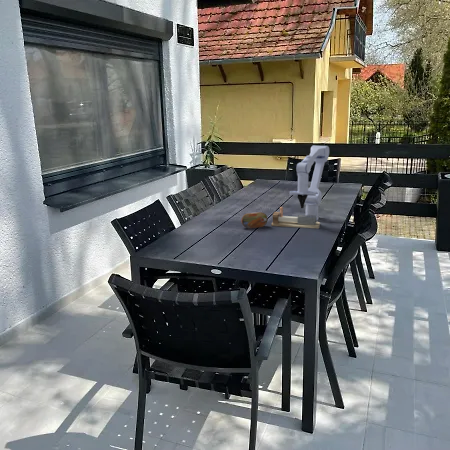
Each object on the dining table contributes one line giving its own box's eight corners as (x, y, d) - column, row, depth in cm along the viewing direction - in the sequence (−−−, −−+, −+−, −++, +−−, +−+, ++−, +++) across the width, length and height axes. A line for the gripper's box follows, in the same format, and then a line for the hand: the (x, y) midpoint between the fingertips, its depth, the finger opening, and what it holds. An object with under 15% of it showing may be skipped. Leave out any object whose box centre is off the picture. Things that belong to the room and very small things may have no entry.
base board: (273, 221, 272) (273, 219, 272) (319, 223, 266) (319, 222, 266) (271, 225, 263) (271, 224, 263) (318, 228, 256) (318, 226, 256)
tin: (242, 229, 258) (242, 214, 256) (240, 227, 261) (240, 213, 259) (267, 226, 262) (267, 212, 260) (265, 225, 265) (266, 211, 263)
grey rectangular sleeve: (298, 222, 266) (298, 214, 265) (316, 223, 264) (316, 215, 263) (297, 224, 261) (297, 216, 260) (315, 225, 259) (315, 217, 258)
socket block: (274, 220, 271) (274, 211, 269) (279, 220, 270) (279, 212, 268) (272, 223, 264) (272, 214, 263) (277, 223, 263) (277, 215, 262)
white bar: (276, 219, 268) (276, 206, 266) (304, 221, 264) (304, 207, 262) (275, 221, 265) (275, 207, 263) (303, 222, 261) (304, 208, 259)
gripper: (288, 185, 256) (288, 208, 260) (315, 185, 253) (314, 210, 256) (290, 182, 263) (290, 206, 267) (316, 183, 259) (315, 207, 263)
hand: (302, 207), depth 262 cm, fingers closed
